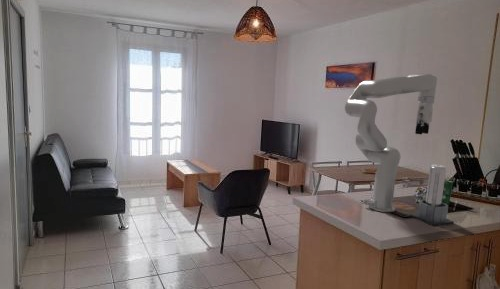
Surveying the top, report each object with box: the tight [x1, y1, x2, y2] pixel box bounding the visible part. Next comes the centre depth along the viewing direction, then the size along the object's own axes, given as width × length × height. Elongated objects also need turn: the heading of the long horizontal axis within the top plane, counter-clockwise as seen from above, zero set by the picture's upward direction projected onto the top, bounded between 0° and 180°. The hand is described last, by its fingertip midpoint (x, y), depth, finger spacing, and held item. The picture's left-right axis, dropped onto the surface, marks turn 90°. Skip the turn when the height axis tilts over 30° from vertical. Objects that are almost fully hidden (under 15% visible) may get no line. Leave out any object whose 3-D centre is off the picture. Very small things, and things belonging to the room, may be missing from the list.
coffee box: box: [442, 179, 454, 206], centre depth 198 cm, size 8×3×13 cm, turn 58°
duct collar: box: [409, 199, 455, 227], centre depth 168 cm, size 13×13×8 cm
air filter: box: [425, 164, 447, 207], centre depth 167 cm, size 6×6×25 cm
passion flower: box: [413, 186, 428, 203], centre depth 196 cm, size 11×11×12 cm
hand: (421, 133), depth 185 cm, fingers open, 9 cm apart
